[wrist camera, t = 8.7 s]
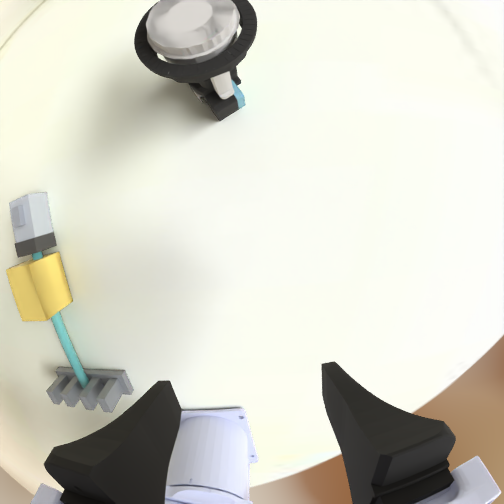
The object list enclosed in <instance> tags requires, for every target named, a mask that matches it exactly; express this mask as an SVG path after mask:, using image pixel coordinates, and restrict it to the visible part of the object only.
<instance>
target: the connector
mask: <svg viewBox="0 0 504 504" xmlns="http://www.w3.org/2000/svg"><path fill="white" fill-rule="evenodd" d="M9 206H10V212H11V219H12V225H13V230H14V235H15V240H16V243H19V242H22V241H25V240H28V239H32V238H35V237H38V236H41V235H44V234H48V233H51V232H54V231H53V226H52V221H51V215H50V209H49V203H48V196H47V192H44V193H35V194H27V195H25V196H23V197H21V198H19V199H16V200H14V201H12V202H10V203H9Z"/></svg>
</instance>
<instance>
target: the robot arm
mask: <svg viewBox="0 0 504 504" xmlns="http://www.w3.org/2000/svg"><path fill="white" fill-rule="evenodd" d="M322 396H323V400H324V404H325V408H326V412H327V415H328V418H329V420H330V423H331V425H332V428H333V431H334V433H335V436H336V438H337V441H338V443H339V446H340V449H341V452H342V456H343V459H344V464H345V468H346V472H347V477H348V482H349V486H350V491H351V497H352V502H353V504H490V503H492V501H494V500H495V499H496V498H497V497H498V496H499V495H500V494H501V491H500V489H499V487H498V486H497V484H496V483H495V481H494V479H493V478H492V476H491V475H490V473H489V472H488V470H487V468H486V467H485V465H484V464H483V462H482V461H481V460H480V458H479V456H475V457H474V458H473V459H471V460H469V461H467V462H466V463H464V464H462V465H460V466H458V467H457V468H455V469H454V470H453V471H452V472H451V473H450V471H449V470H448V467H449V462H448V461H447V457H448V455H449V453H450V451H451V450H452V448H453V446H454V443H455V441H456V438H455V436H454V434H453V433H452V431H451V430H450V428H449V427H448V426H447V425H446V424H445V423H444V421H439V420H434V419H429V418H425V417H421V416H418V415H414V414H411V413H408V412H406V411H403V410H401V409H398V408H396V407H394V406H392V405H390V404H388V403H386V402H384V401H383V400H381V399H379V398H378V397H376V396H375V395H373V394H372V393H370V392H369V391H367V390H366V389H365V388H363V387H362V386H361V385H360V384H359V383H357V382H356V381H355V380H354V379H353V378H351V377H350V376H349V375H348V374H347V373H346V372H345V371H344V370H343V369H342V368H341V367H340V366H339V365H338V364H337V363H336V362H329V363H324V364H322ZM256 462H258V455H257V451H256V448H255V444H254V441H253V437H252V433H251V430H250V426H249V422H248V418H247V414H246V411H245V410H244V409H242V408H235V409H220V410H197V411H182V409H181V407H180V405H179V402H178V400H177V397H176V395H175V393H174V390H173V388H172V385H171V383H170V381H158V382H157V383H156V384H154V385H153V386H152V387H151V388H150V389H149V390H148V391H147V392H146V393H145V394H144V395H143V396H142V397H141V398H140V399H139V400H138V401H137V402H136V403H135V404H134V405H132V406H131V407H130V408H129V409H128V410H127V411H125V412H124V413H123V414H122V415H121V416H119V417H118V418H117V419H115V420H114V421H113V422H111V423H110V424H108V425H107V426H105V427H103V428H102V429H100V430H98V431H96V432H94V433H92V434H90V435H88V436H86V437H84V438H82V439H79V440H77V441H74V442H71V443H68V444H64V445H61V446H57V447H54V448H53V450H52V451H51V453H50V455H49V456H48V458H47V459H46V461H45V463H44V466H45V469H46V470H47V472H48V473H49V474H50V475H51V476H52V477H53V478H54V479H55V480H56V481H57V482H58V483H59V484H60V485H61V486H62V487H63V488H64V489H65V490H64V492H63V493H61V492H60V491H58V490H56V489H54V488H52V487H50V486H47V485H45V484H43V483H41V485H40V487H39V488H38V490H37V492H36V494H35V496H34V498H33V500H32V501H31V503H30V504H253V501H249V473H250V463H256Z"/></svg>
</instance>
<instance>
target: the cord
mask: <svg viewBox="0 0 504 504" xmlns="http://www.w3.org/2000/svg"><path fill="white" fill-rule="evenodd" d="M42 257H43V255H42V251H40V252H38V253H34V254H32V258H33V260H37V259H40V258H42ZM51 319H52V322H53V324H54V327H55V329H56V332H57V334H58V337H59V339H60V342H61V344H62V346H63V349H64V351H65V353H66V355H67V358H68V360H69V362H70V364H71V366H72V368H73V370H74V372H75V374H76V376H77V378H78V380H79V382H80V384H81V386H82V388H85V387H86V386H87V384H88V383H89V380H88V378H87V376H86V374H85V372H84V370H83V368H82V366H81V363H80V361H79V359H78V357H77V355H76V352H75V350H74V348H73V345H72V343H71V341H70V338H69V336H68V333H67V331H66V328H65V326H64V323H63V320H62V318H61V315H60V312H57V313H56V314H55V315H54V316H52V317H51Z"/></svg>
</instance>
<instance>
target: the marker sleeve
mask: <svg viewBox="0 0 504 504" xmlns="http://www.w3.org/2000/svg"><path fill="white" fill-rule="evenodd" d="M6 272H7V276H8V279H9V283H10V286H11V289H12V292H13V296H14V299H15V302H16V305H17V307H18V310H19V313H20V316H21V318H22V321H47V320H48V319H50V318H51V317H52V316H54V315H55V314H56V313H57V312H59V311H60V310H62V309H63V308H64V307H66V306H67V305H68V304H70V303H71V302H72V301H73V299H72V296H71V293H70V290H69V286H68V283H67V280H66V276H65V273H64V269H63V265H62V261H61V257H60V253H59V252H55V253H51V254H47V255H43V257H42V258H40V259H37V260H33V258H32V259H30V260H27V261H25V262H23V263H20V264H18V265H16V266H13V267H11V268H9V269H7V270H6Z"/></svg>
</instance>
